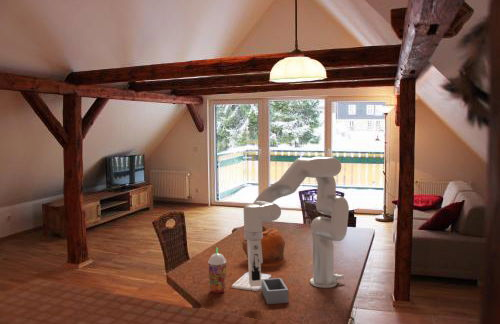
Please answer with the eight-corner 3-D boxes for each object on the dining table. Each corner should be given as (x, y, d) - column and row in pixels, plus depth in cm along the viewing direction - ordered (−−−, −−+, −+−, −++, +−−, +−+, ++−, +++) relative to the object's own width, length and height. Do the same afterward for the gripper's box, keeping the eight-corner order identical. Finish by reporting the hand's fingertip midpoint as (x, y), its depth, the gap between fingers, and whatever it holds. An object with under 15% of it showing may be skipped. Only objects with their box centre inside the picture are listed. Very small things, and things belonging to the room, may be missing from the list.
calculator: (231, 289, 180) (231, 285, 180) (246, 274, 199) (246, 271, 199) (258, 292, 175) (258, 288, 175) (271, 277, 194) (271, 273, 194)
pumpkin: (236, 262, 217) (236, 222, 215) (261, 251, 237) (261, 215, 236) (271, 270, 204) (270, 227, 202) (294, 257, 224) (293, 219, 223)
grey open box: (281, 289, 177) (280, 277, 176) (288, 302, 163) (288, 289, 163) (261, 291, 175) (261, 279, 175) (267, 304, 162) (267, 291, 161)
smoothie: (205, 293, 174) (204, 249, 173) (213, 286, 182) (212, 244, 181) (222, 295, 171) (221, 250, 170) (229, 288, 179) (229, 245, 178)
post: (259, 281, 164) (258, 253, 163) (261, 285, 160) (260, 257, 159) (248, 282, 164) (248, 254, 163) (250, 286, 159) (249, 258, 158)
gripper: (266, 239, 152) (267, 284, 154) (258, 229, 169) (260, 270, 170) (247, 240, 151) (248, 286, 153) (241, 230, 168) (243, 271, 169)
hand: (254, 277), depth 161 cm, fingers closed on post, 4 cm apart
